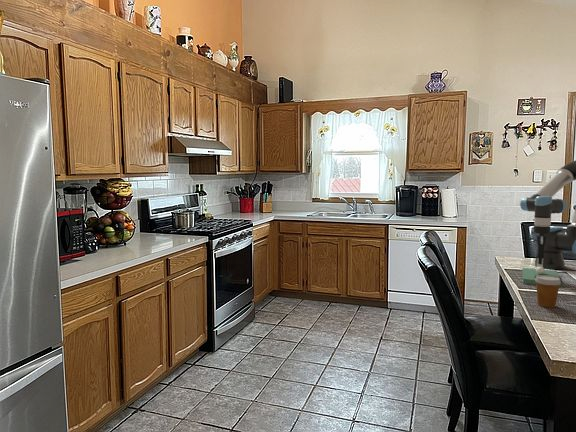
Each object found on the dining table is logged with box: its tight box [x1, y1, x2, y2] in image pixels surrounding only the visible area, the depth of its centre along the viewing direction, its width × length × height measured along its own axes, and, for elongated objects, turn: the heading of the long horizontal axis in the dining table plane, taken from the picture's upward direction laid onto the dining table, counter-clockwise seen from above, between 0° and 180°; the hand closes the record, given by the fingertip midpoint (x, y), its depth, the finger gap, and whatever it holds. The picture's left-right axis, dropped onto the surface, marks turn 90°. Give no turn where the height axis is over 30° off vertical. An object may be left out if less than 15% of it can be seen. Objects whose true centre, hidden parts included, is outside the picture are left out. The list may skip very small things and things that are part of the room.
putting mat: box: [521, 267, 562, 288], centre depth 226 cm, size 26×16×2 cm, turn 153°
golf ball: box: [535, 266, 546, 274], centre depth 226 cm, size 4×4×4 cm
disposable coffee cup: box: [535, 275, 562, 308], centre depth 184 cm, size 10×10×12 cm
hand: (539, 269), depth 230 cm, fingers closed
